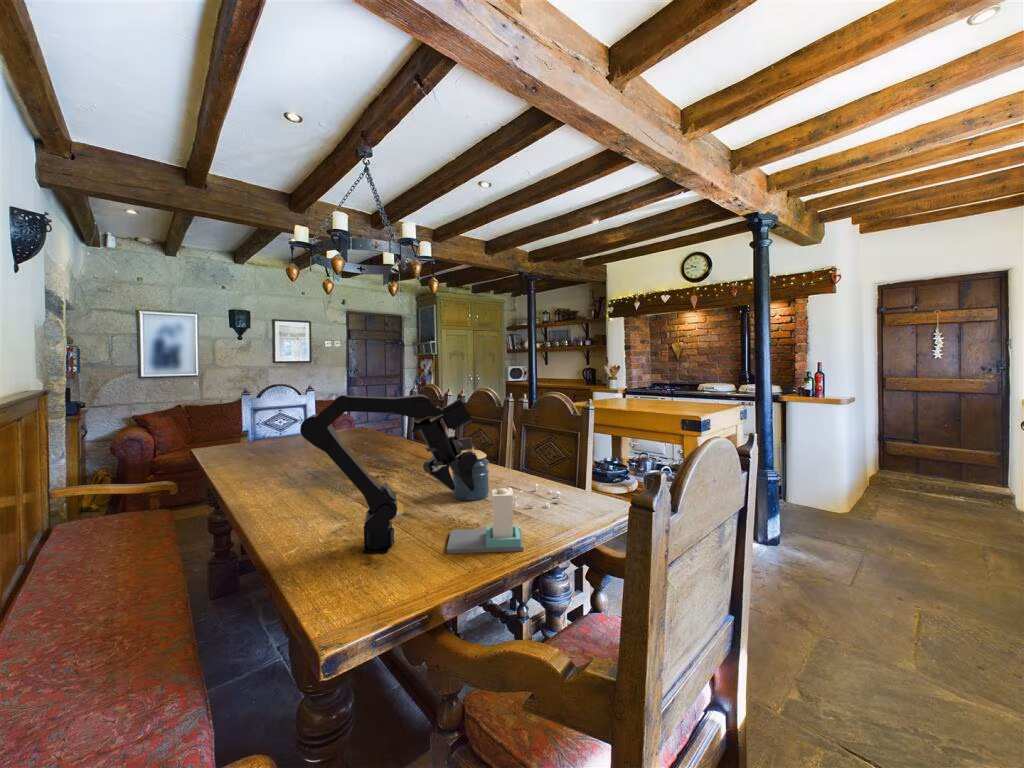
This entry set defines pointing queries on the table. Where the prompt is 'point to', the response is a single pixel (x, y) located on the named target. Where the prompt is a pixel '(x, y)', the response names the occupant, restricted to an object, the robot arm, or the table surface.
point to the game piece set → (534, 500)
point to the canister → (474, 479)
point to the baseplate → (483, 541)
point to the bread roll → (399, 508)
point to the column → (502, 513)
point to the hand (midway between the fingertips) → (463, 490)
